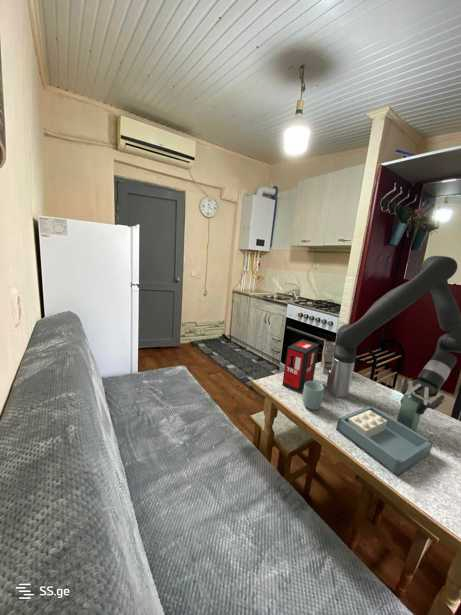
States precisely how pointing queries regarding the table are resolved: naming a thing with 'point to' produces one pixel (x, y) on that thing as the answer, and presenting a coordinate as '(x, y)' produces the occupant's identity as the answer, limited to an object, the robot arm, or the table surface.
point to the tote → (388, 442)
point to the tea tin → (410, 411)
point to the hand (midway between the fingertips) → (410, 409)
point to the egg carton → (368, 423)
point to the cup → (312, 394)
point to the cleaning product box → (300, 364)
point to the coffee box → (327, 356)
